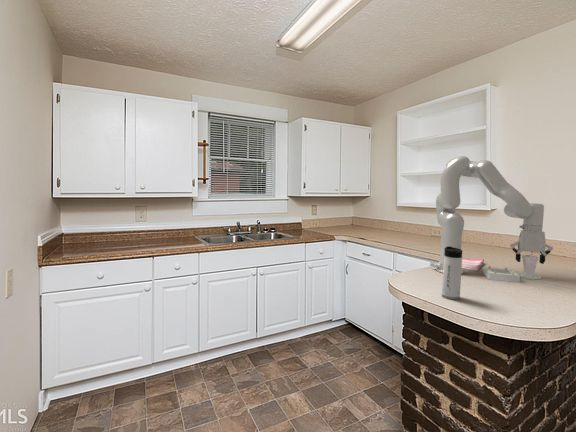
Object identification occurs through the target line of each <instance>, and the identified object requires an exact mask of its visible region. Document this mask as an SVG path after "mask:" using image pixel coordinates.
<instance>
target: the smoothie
mask: <svg viewBox="0 0 576 432" xmlns="http://www.w3.org/2000/svg"><path fill="white" fill-rule="evenodd" d="M533 253H534V252H532V251H530V254H522V255H521V256H522V257H521V258H522V263H523V264H522V265H523V273H524V275H526V276H533V275H534V274H535V271H536V267H537V263H538V261H539V257H538V256H536V255H533Z"/></svg>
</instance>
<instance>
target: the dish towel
mask: <svg viewBox="0 0 576 432" xmlns="http://www.w3.org/2000/svg"><path fill="white" fill-rule="evenodd" d="M484 263H485V259H484V258H479V259H477V258H473V259H471V258H463V257H462V268H461V270H466V271H471V272H472V271H474V272H478V270H479V269H480V268H481V267H482V266H484Z"/></svg>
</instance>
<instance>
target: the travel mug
mask: <svg viewBox="0 0 576 432" xmlns="http://www.w3.org/2000/svg"><path fill="white" fill-rule="evenodd" d="M444 253H445V254H444V267H443V273H442V288H441V289H442V291H441V292H442V293H441V295H442V298H444V299H447V300H451V299H452V301H457V300H460V298H461V282H462V274H461V270H462V269H461V268H462V258H463V250H462V248H461V249H458V248H454V247H451V246H447V247H446V248H445V252H444Z"/></svg>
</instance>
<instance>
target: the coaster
mask: <svg viewBox="0 0 576 432" xmlns="http://www.w3.org/2000/svg"><path fill="white" fill-rule="evenodd" d="M516 273H517V274H518V275H519V276H520V278H523V279H527V280H528V279H529V280H542V278H543V277H542V276H541V275H539V274H536V273H534V275H533V276H526V275H524V272H516Z"/></svg>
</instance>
